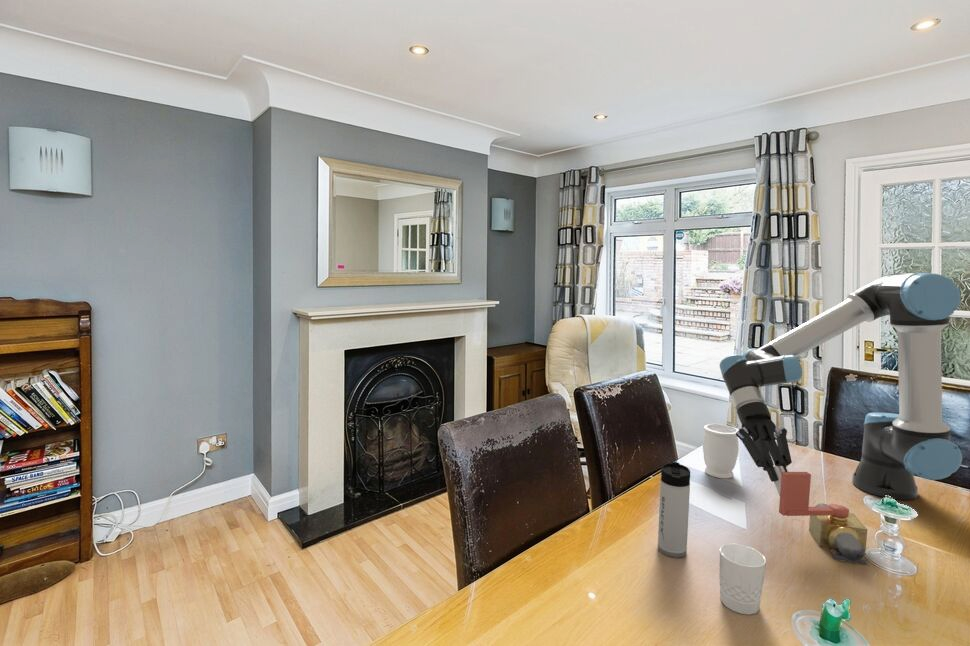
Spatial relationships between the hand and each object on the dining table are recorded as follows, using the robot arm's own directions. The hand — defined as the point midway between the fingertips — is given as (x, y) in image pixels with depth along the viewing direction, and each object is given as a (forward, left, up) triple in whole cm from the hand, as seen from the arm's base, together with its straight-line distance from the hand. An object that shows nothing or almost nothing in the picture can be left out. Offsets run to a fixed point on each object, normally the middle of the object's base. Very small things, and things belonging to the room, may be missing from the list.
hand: (786, 494), depth 117 cm
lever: (-5, +3, -4) cm, 7 cm away
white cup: (+27, +20, -11) cm, 35 cm away
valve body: (-11, +4, -11) cm, 16 cm away
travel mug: (+30, +1, -11) cm, 32 cm away
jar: (-9, -37, -11) cm, 40 cm away
